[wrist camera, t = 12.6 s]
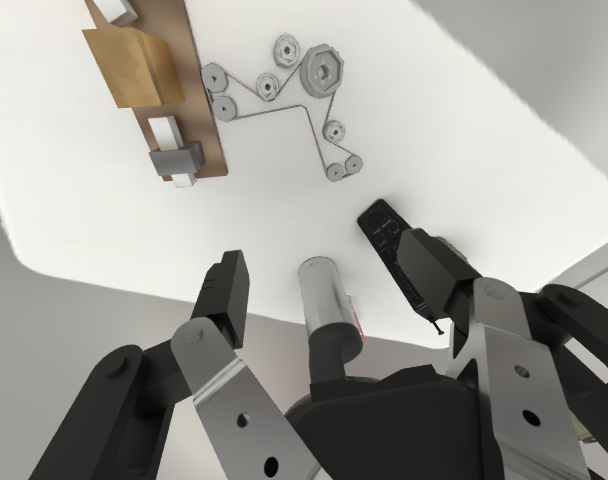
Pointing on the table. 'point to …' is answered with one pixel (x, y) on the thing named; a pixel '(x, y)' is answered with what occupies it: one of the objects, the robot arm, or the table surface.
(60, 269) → the table surface
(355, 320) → the ink cartridge box
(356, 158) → the pulley system
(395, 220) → the portable radio
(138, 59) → the tan rectangular block
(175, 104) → the shaft mount
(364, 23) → the table surface
